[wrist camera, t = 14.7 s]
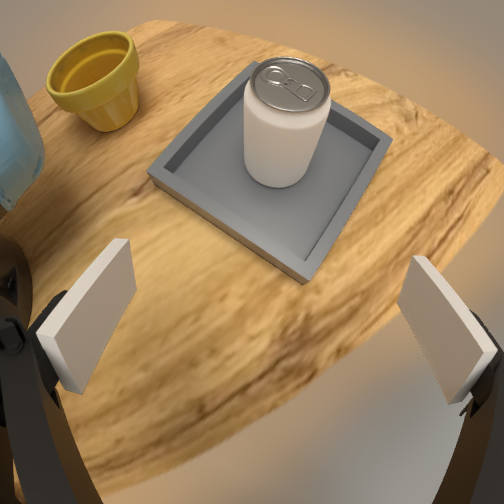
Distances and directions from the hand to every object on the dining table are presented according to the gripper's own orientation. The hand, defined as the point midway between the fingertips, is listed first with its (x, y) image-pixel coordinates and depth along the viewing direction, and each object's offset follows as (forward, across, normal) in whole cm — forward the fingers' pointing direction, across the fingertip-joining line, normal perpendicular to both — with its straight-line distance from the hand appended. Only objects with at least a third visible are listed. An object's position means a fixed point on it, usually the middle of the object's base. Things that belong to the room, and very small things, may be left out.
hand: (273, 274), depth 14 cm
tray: (+20, +1, +1) cm, 20 cm away
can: (+20, +1, +1) cm, 20 cm away
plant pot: (+25, -19, +7) cm, 32 cm away
